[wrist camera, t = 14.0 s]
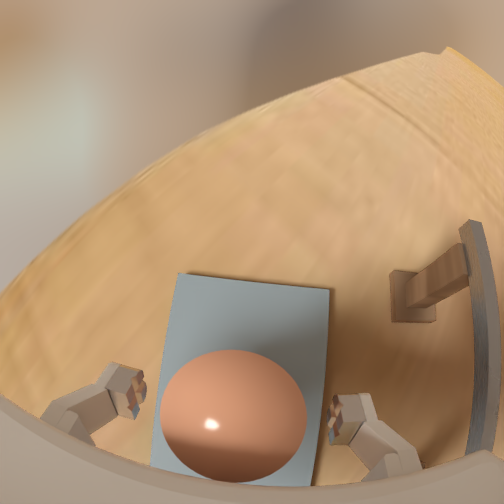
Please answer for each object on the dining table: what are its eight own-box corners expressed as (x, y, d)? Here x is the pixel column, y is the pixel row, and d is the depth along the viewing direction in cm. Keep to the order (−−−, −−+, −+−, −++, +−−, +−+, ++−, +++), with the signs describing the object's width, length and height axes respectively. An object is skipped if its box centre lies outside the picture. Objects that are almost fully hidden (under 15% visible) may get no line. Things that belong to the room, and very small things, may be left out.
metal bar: (470, 231, 14) (481, 222, 13) (450, 536, 5) (461, 541, 4) (458, 229, 14) (469, 219, 13) (436, 543, 5) (446, 549, 4)
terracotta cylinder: (280, 366, 17) (313, 356, 8) (272, 431, 15) (297, 486, 6) (210, 358, 18) (170, 339, 8) (202, 423, 16) (154, 467, 7)
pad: (326, 292, 20) (329, 289, 20) (305, 497, 14) (307, 501, 13) (180, 276, 21) (178, 273, 20) (152, 477, 14) (149, 481, 13)
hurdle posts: (427, 277, 21) (483, 234, 14) (410, 499, 12) (466, 528, 5) (389, 274, 21) (442, 225, 14) (369, 509, 13) (417, 550, 5)
